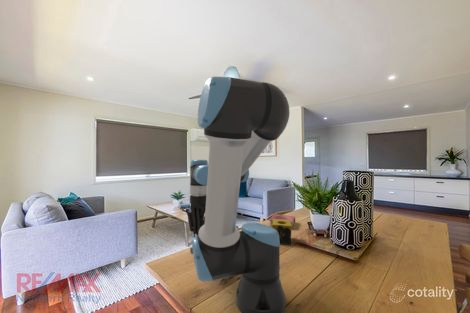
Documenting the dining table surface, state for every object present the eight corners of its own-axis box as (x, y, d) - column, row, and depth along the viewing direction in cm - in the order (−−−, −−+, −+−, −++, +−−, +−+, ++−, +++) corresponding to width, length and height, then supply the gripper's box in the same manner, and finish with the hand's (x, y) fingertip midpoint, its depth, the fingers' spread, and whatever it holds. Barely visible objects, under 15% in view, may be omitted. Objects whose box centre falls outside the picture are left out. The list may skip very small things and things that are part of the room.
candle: (272, 236, 117) (272, 218, 117) (290, 237, 115) (290, 219, 115) (271, 243, 107) (271, 224, 107) (291, 245, 105) (291, 225, 105)
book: (295, 223, 140) (295, 216, 141) (292, 230, 127) (292, 222, 127) (274, 220, 146) (274, 213, 146) (269, 227, 132) (269, 219, 132)
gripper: (215, 194, 90) (214, 248, 90) (193, 191, 96) (192, 242, 96) (205, 197, 84) (204, 255, 83) (181, 194, 90) (180, 248, 90)
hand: (197, 248), depth 90 cm, fingers closed
